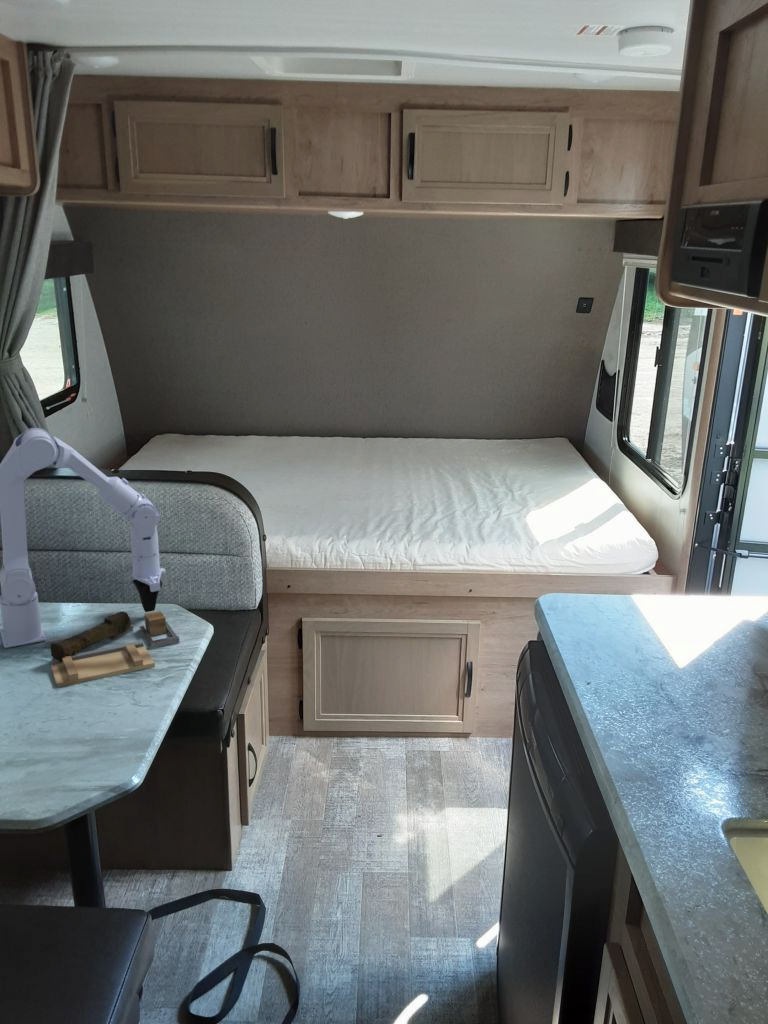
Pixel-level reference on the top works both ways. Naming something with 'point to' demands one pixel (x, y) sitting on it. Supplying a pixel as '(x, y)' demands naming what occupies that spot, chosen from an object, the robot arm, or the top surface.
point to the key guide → (160, 642)
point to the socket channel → (94, 652)
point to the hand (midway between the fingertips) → (149, 610)
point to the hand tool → (92, 636)
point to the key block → (155, 623)
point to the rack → (101, 665)
